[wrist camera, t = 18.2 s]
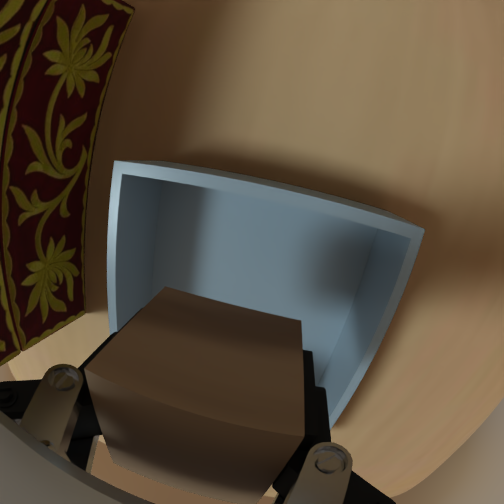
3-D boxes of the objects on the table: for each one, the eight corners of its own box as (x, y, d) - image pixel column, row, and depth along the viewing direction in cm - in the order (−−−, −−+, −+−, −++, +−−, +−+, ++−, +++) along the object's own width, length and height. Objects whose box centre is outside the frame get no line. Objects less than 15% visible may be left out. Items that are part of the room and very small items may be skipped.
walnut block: (165, 286, 10) (84, 368, 5) (301, 320, 9) (304, 436, 5) (161, 381, 11) (113, 462, 7) (268, 410, 11) (254, 506, 6)
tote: (161, 160, 17) (114, 160, 12) (387, 210, 16) (425, 229, 11) (148, 389, 24) (124, 427, 19) (298, 428, 23) (296, 474, 18)
